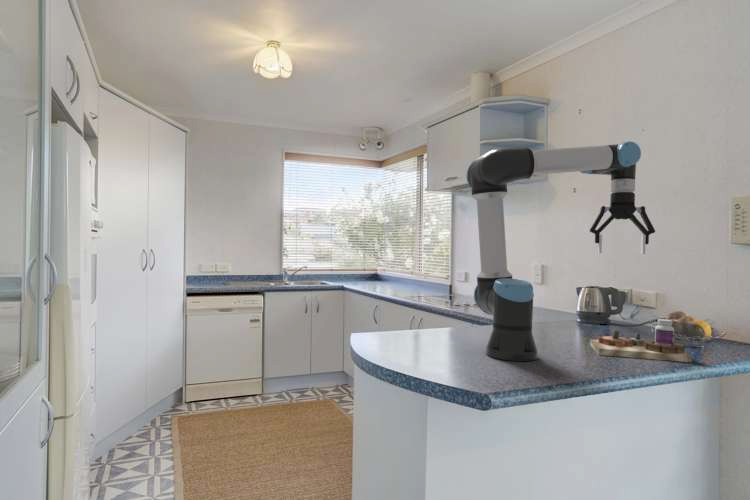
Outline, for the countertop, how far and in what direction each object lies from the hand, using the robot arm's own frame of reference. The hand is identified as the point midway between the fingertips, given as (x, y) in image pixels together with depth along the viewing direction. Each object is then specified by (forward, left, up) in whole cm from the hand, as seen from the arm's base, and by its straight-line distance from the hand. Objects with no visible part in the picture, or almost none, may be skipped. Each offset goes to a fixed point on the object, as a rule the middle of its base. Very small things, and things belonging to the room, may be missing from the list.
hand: (621, 253), depth 164 cm
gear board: (+4, -8, -33) cm, 34 cm away
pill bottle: (+11, -10, -31) cm, 34 cm away
